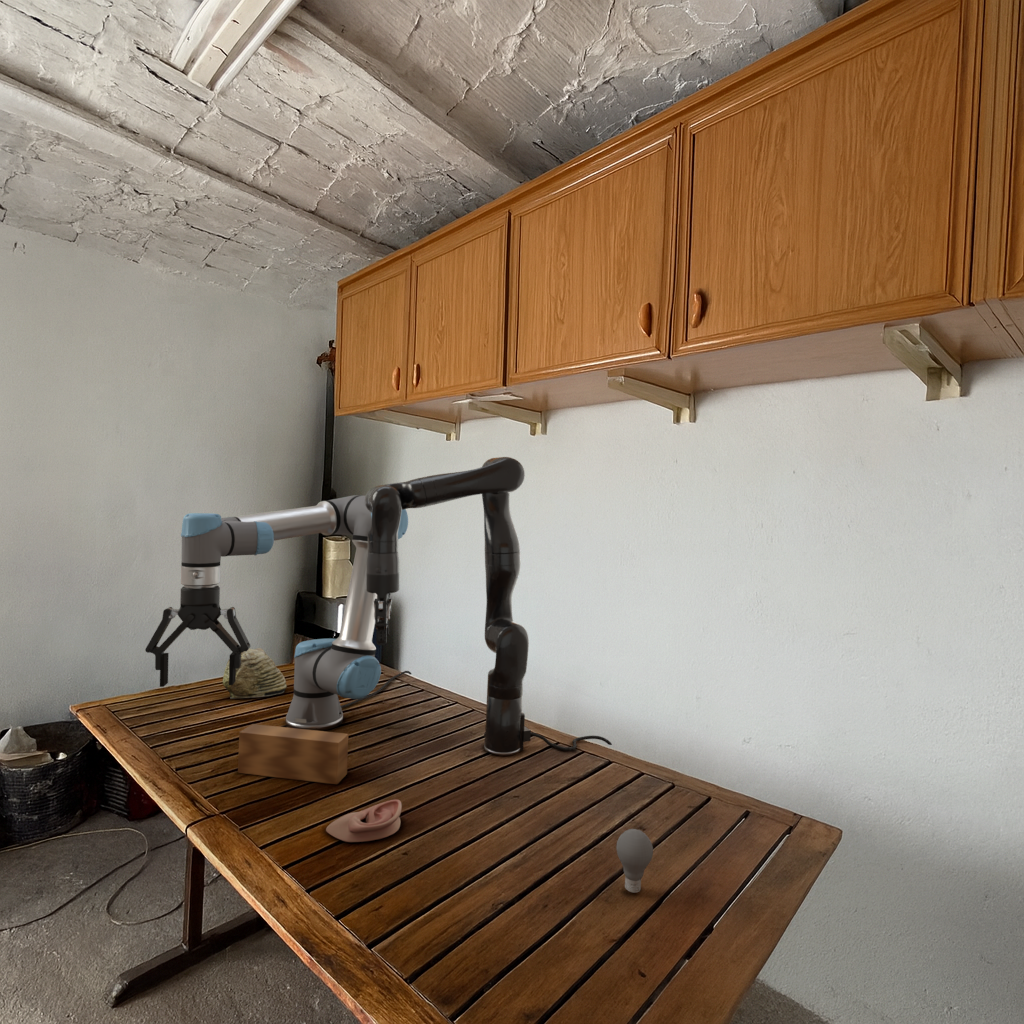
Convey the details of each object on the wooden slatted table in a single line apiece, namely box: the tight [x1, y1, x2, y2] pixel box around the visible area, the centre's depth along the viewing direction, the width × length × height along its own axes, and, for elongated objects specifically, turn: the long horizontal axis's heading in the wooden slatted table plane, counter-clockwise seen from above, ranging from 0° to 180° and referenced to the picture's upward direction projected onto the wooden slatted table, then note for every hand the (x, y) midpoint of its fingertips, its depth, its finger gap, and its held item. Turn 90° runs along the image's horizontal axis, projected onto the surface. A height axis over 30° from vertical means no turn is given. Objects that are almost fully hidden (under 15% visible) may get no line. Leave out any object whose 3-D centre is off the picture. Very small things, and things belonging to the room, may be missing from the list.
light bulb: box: [615, 828, 654, 894], centre depth 106 cm, size 6×6×10 cm
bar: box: [237, 723, 349, 785], centre depth 144 cm, size 24×6×9 cm, turn 81°
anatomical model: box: [325, 799, 403, 843], centre depth 122 cm, size 13×4×12 cm
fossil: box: [222, 647, 288, 699], centre depth 198 cm, size 9×18×15 cm, turn 132°
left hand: (198, 684), depth 136 cm, fingers open, 13 cm apart
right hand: (382, 640), depth 148 cm, fingers open, 8 cm apart
